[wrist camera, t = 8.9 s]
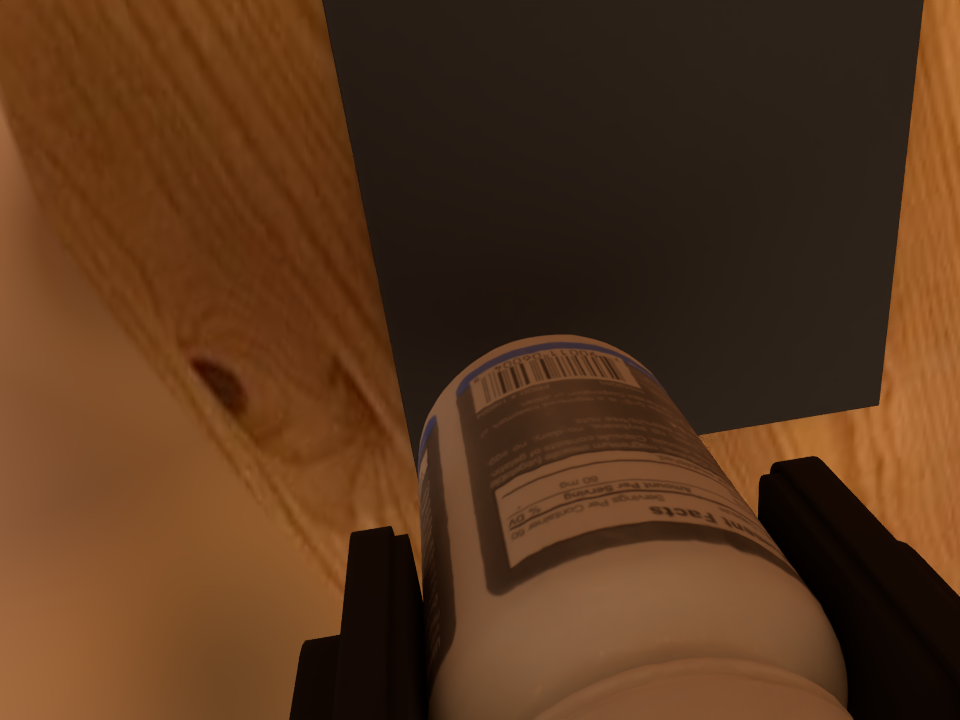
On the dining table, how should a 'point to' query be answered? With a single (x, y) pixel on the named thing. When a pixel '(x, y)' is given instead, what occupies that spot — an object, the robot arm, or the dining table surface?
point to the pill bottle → (601, 556)
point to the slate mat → (636, 188)
